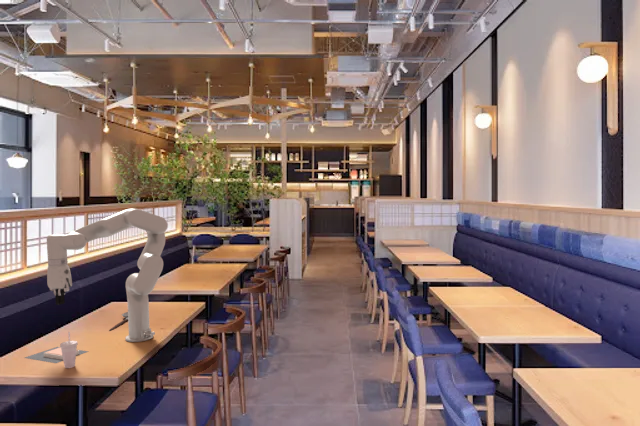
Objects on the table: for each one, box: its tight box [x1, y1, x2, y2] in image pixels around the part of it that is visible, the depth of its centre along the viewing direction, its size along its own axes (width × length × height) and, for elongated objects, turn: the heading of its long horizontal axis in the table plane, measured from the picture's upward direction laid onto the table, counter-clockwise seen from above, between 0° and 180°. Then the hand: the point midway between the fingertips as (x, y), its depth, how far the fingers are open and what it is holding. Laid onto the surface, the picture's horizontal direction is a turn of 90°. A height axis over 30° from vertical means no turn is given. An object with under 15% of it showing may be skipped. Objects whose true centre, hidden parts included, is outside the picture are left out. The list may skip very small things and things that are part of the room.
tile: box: [44, 346, 80, 360], centre depth 209 cm, size 2×8×12 cm
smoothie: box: [59, 331, 79, 369], centre depth 196 cm, size 6×6×14 cm
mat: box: [24, 346, 89, 364], centre depth 211 cm, size 20×16×1 cm
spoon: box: [108, 311, 128, 332], centre depth 265 cm, size 11×33×3 cm, turn 177°
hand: (60, 303), depth 212 cm, fingers closed
